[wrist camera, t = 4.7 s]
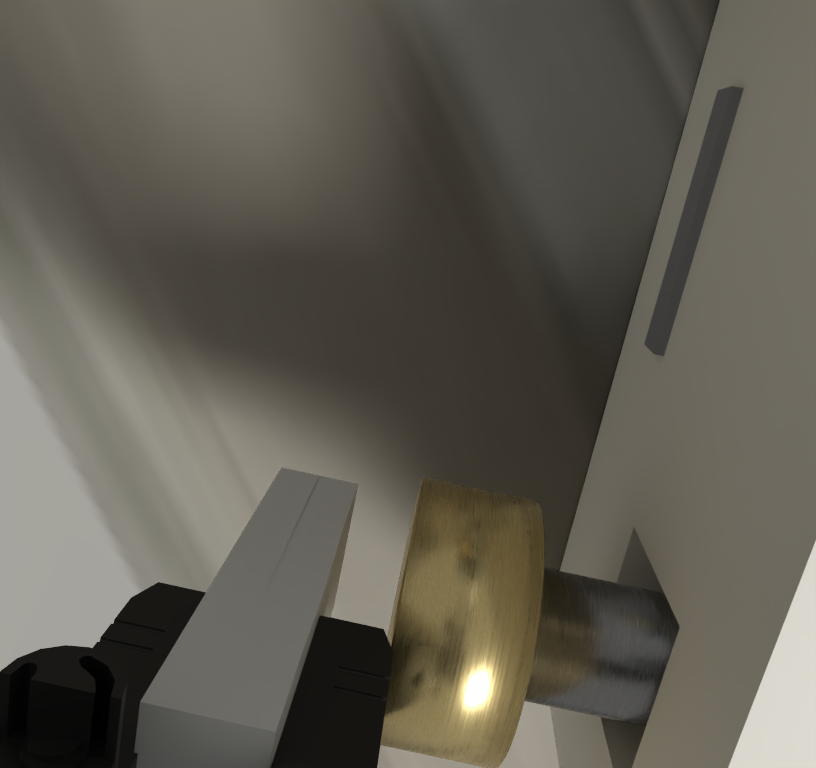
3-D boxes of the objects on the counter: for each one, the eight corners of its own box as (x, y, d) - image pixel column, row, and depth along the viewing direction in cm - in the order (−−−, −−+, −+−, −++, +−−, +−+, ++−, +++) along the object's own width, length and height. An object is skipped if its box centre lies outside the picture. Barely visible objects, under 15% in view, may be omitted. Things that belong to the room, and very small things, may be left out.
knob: (427, 441, 15) (412, 553, 10) (895, 537, 14) (1072, 692, 10) (386, 636, 16) (357, 807, 12) (816, 727, 16) (944, 934, 12)
